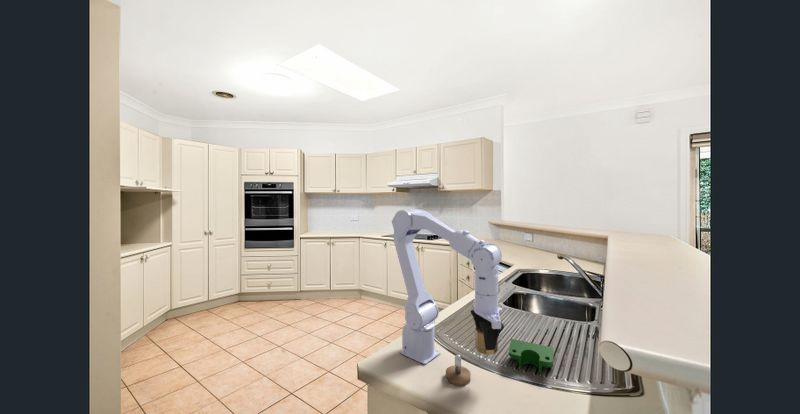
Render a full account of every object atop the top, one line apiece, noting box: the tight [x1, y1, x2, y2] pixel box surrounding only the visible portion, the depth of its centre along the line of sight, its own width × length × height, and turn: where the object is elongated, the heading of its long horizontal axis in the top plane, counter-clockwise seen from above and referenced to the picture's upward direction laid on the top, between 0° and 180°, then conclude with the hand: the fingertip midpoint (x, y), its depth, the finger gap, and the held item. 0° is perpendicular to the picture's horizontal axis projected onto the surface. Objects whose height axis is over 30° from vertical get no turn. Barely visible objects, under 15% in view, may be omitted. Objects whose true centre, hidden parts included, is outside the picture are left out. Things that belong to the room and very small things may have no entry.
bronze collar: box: [474, 326, 499, 356], centre depth 79 cm, size 5×5×5 cm
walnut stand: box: [445, 365, 471, 387], centre depth 80 cm, size 6×6×2 cm
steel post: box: [454, 354, 462, 374], centre depth 80 cm, size 2×2×5 cm
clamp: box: [508, 338, 555, 375], centre depth 85 cm, size 12×6×9 cm, turn 55°
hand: (486, 343), depth 79 cm, fingers closed on bronze collar, 5 cm apart
